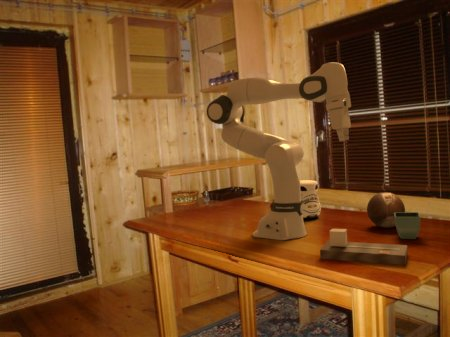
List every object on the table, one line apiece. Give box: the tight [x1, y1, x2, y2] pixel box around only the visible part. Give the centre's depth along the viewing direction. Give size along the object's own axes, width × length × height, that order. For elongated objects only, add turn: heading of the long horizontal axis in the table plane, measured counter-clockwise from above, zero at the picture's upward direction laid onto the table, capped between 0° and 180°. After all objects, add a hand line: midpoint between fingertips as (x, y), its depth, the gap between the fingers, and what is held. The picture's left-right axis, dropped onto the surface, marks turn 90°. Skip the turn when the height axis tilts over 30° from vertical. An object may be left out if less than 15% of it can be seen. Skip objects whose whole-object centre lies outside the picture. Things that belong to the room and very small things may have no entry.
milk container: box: [299, 179, 322, 220], centre depth 203 cm, size 17×17×18 cm
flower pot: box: [394, 211, 421, 240], centre depth 155 cm, size 9×9×9 cm
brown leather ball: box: [366, 191, 406, 229], centre depth 173 cm, size 15×15×15 cm
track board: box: [319, 240, 409, 266], centre depth 136 cm, size 26×12×3 cm, turn 63°
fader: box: [329, 228, 348, 247], centre depth 139 cm, size 5×4×5 cm
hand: (344, 140), depth 156 cm, fingers open, 8 cm apart
